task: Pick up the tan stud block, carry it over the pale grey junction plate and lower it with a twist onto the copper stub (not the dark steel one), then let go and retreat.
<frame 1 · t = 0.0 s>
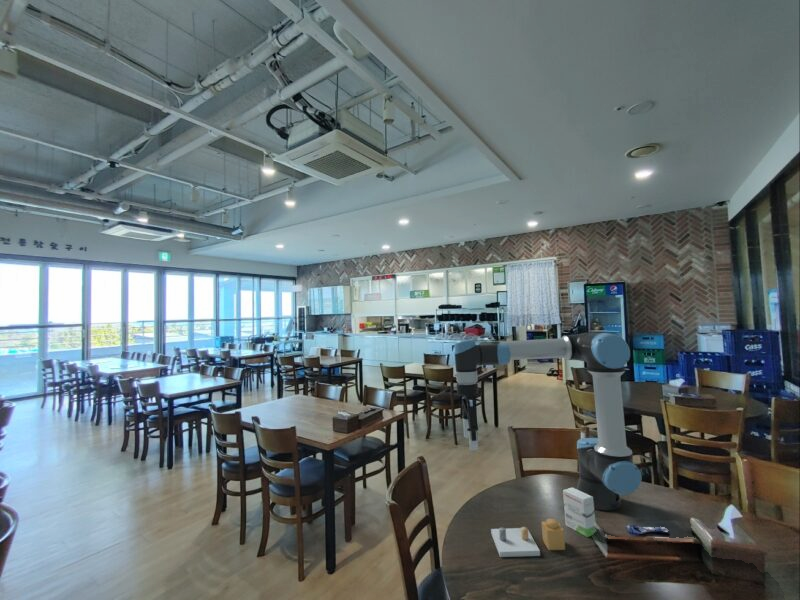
hand: (470, 443, 128), 28 cm above the table, fingers open, 13 cm apart
junction plate: (514, 544, 114), on the table
tan stud block: (553, 544, 112), on the table
ink box: (580, 529, 120), on the table
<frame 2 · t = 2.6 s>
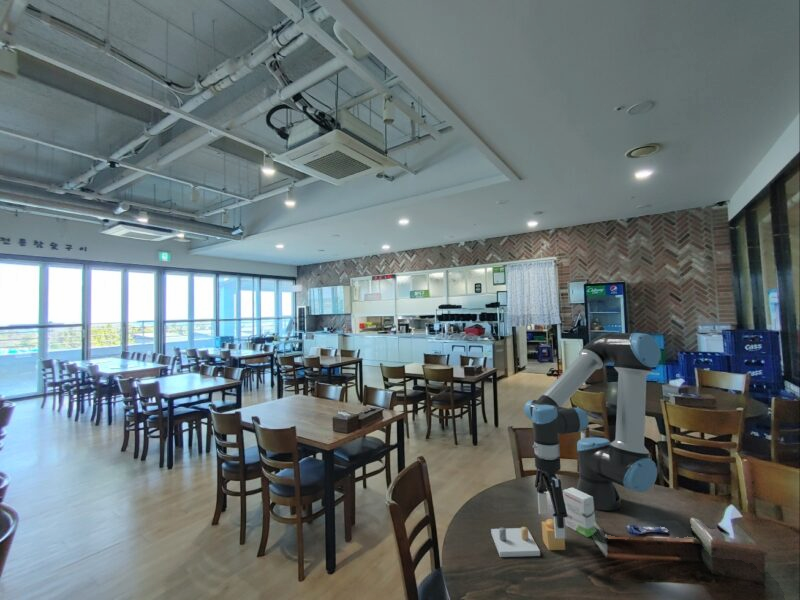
hand: (551, 525, 113), 6 cm above the table, fingers open, 13 cm apart
nothing on the table moved.
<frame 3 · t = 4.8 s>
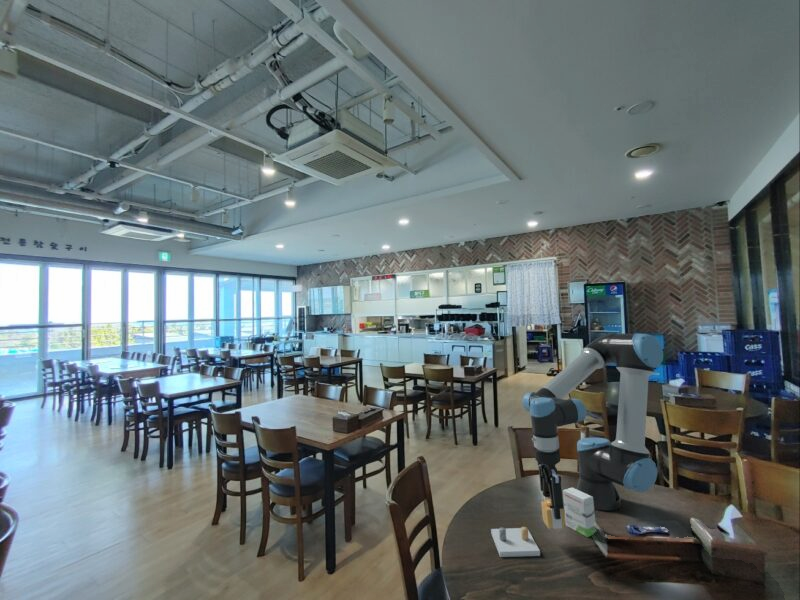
hand: (553, 522, 113), 7 cm above the table, fingers closed on tan stud block, 5 cm apart
tan stud block: (553, 523, 113), point 6 cm above the table, touching gripper
everything else where it was.
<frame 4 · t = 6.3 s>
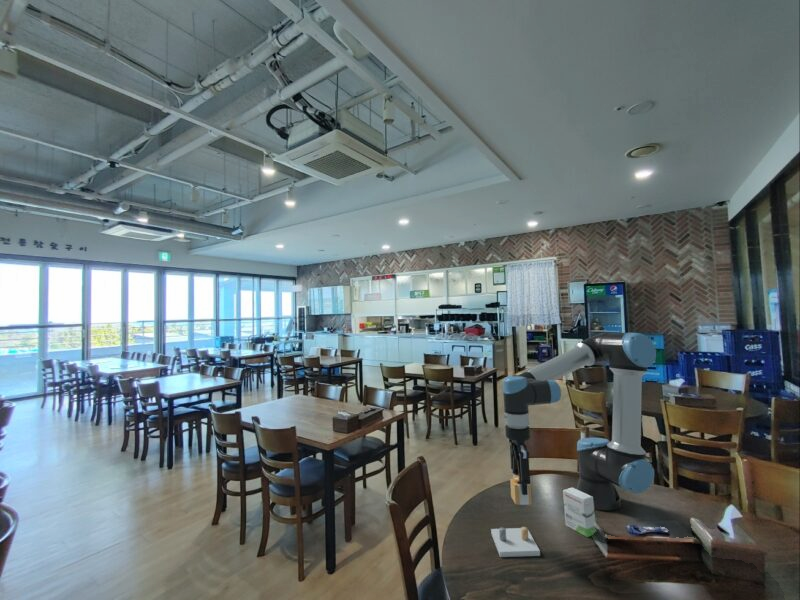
hand: (521, 499, 114), 14 cm above the table, fingers closed on tan stud block, 5 cm apart
tan stud block: (521, 500, 114), point 13 cm above the table, touching gripper
everything else where it was.
when the fingers open (2 cm above the table, at t = 8.1 s): tan stud block stays where it is, resting on junction plate.
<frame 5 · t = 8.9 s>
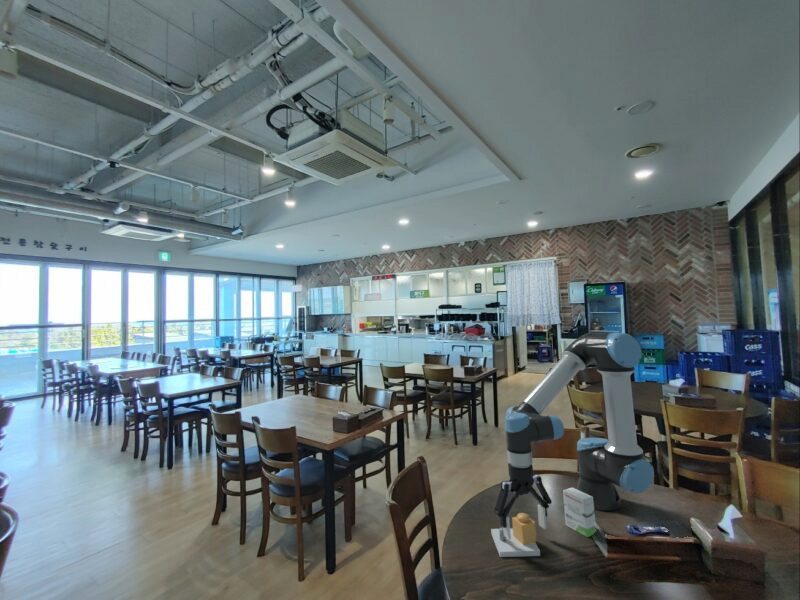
hand: (525, 532, 114), 4 cm above the table, fingers open, 13 cm apart
tan stud block: (524, 538, 114), point 1 cm above the table, touching junction plate
everything else where it was.
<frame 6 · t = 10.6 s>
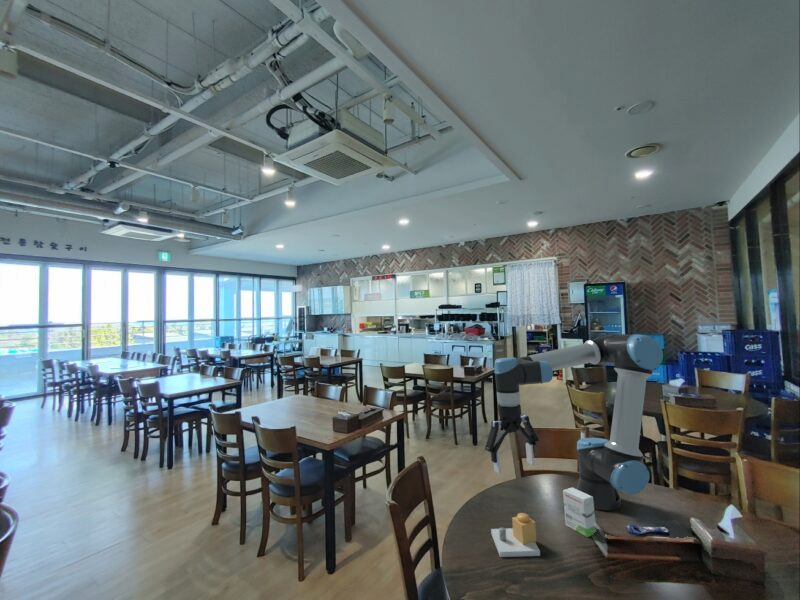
hand: (514, 467, 121), 21 cm above the table, fingers open, 13 cm apart
nothing on the table moved.
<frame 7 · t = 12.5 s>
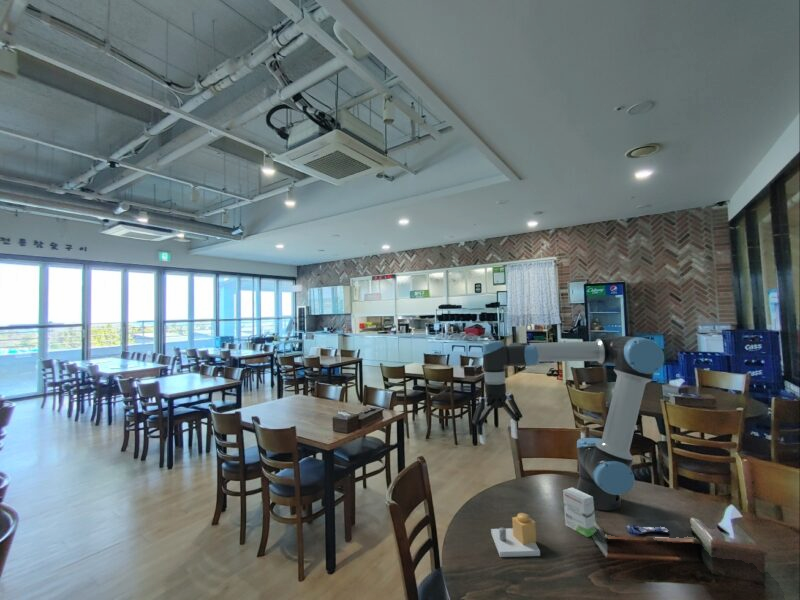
hand: (498, 440, 132), 27 cm above the table, fingers open, 13 cm apart
nothing on the table moved.
at the end: tan stud block 0.1 cm from the target spot on the junction plate, point 1.5 cm above the junction plate's base; tan stud block tilted 0°; the gripper is holding nothing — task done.
